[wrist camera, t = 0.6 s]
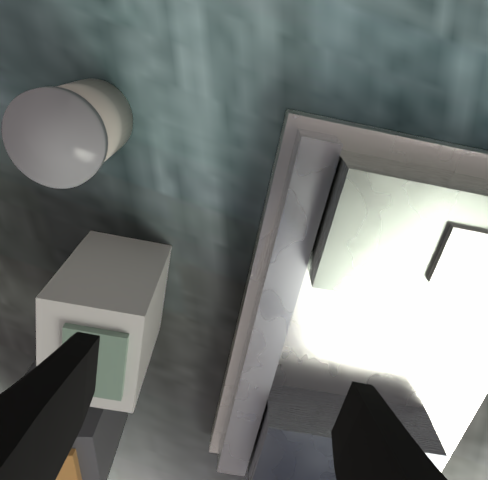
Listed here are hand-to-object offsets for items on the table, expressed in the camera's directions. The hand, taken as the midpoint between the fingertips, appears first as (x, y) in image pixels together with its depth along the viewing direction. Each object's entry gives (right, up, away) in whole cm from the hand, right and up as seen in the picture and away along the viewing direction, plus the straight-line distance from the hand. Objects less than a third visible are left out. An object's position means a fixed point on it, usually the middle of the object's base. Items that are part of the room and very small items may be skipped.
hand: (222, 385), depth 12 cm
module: (-5, +2, +10) cm, 12 cm away
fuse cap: (-6, +9, +7) cm, 13 cm away
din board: (+7, 0, +11) cm, 13 cm away
